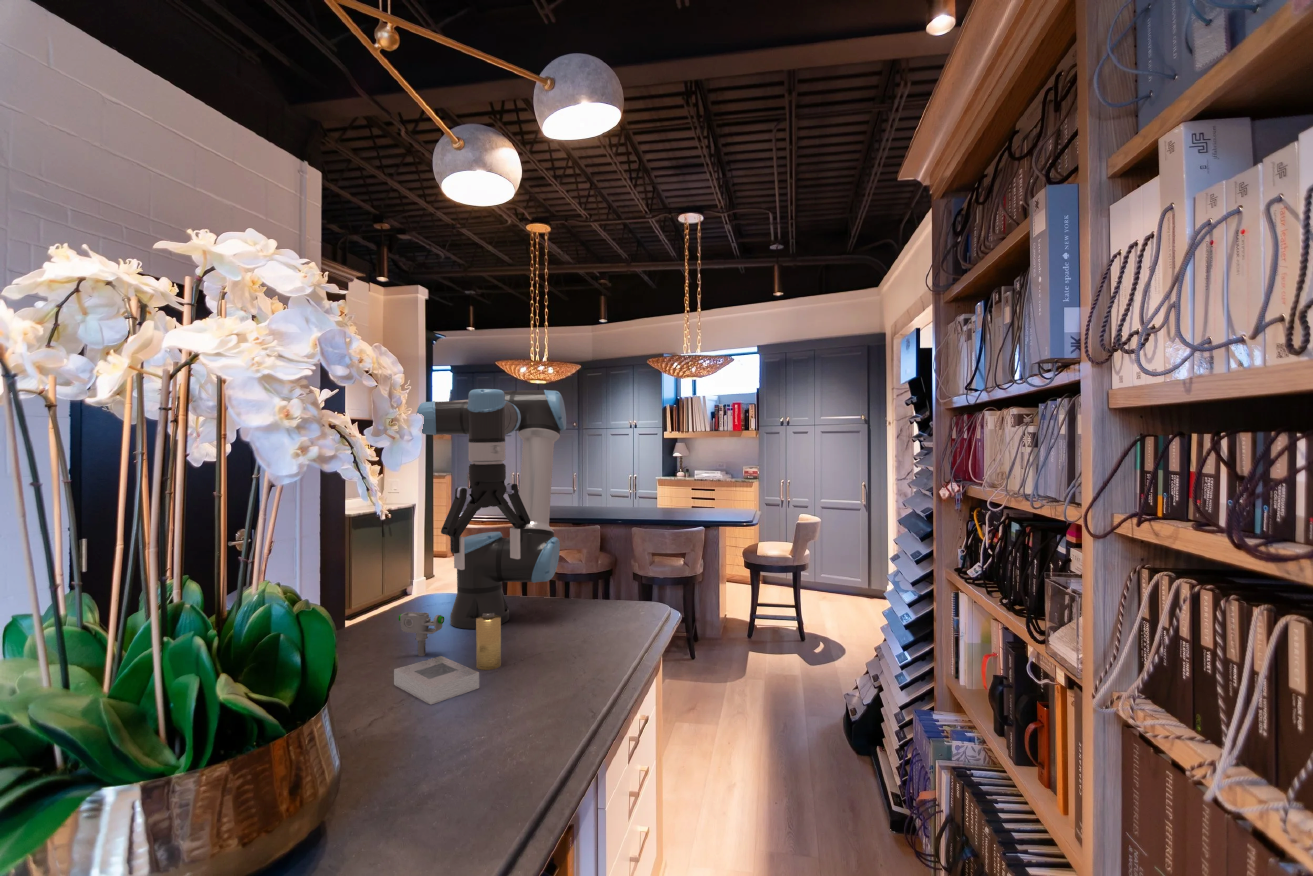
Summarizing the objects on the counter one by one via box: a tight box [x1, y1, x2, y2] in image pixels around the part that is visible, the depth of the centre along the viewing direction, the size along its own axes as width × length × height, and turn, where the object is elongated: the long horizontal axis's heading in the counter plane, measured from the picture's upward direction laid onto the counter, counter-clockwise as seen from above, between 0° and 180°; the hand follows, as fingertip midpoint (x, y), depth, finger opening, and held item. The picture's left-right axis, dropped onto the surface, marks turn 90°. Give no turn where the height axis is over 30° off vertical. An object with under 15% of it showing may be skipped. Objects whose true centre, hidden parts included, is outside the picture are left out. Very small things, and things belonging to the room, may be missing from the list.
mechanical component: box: [398, 611, 445, 657], centre depth 140 cm, size 3×10×10 cm, turn 79°
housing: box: [393, 655, 480, 706], centre depth 122 cm, size 14×10×4 cm
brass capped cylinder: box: [475, 612, 502, 671], centre depth 133 cm, size 5×5×12 cm
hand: (488, 563), depth 133 cm, fingers open, 13 cm apart
